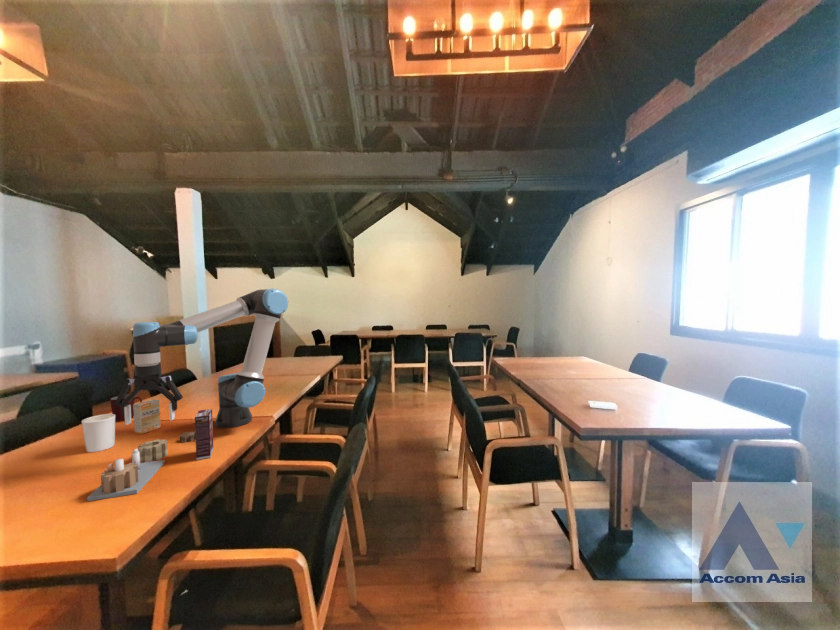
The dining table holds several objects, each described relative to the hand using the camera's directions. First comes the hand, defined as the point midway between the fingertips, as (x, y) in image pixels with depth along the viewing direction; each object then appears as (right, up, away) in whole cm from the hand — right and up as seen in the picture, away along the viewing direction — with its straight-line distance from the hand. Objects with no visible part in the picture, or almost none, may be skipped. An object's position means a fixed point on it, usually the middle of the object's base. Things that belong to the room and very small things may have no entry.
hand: (150, 421), depth 126 cm
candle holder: (-28, -14, +10) cm, 32 cm away
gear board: (+5, -14, -15) cm, 22 cm away
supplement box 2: (+19, -13, +2) cm, 23 cm away
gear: (+3, -13, +16) cm, 21 cm away
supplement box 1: (-23, -13, +27) cm, 38 cm away
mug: (-45, -12, +43) cm, 64 cm away
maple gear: (0, -13, +1) cm, 14 cm away
